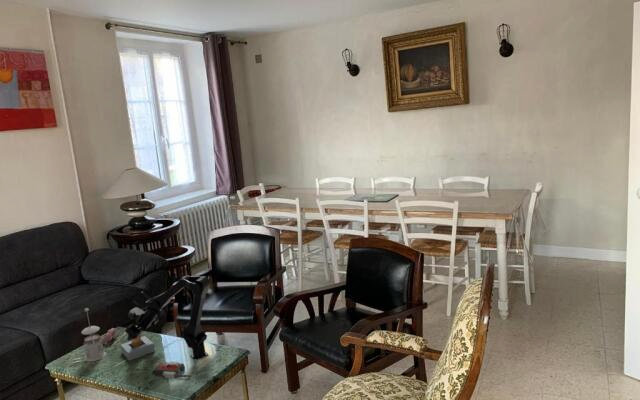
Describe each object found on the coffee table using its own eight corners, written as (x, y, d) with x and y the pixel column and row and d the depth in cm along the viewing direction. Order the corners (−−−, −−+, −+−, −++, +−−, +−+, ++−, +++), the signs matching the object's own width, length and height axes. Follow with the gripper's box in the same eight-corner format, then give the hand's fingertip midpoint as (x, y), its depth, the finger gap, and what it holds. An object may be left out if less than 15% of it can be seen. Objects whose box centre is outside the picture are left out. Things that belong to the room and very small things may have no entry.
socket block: (154, 351, 233) (153, 343, 233) (129, 360, 226) (128, 352, 225) (146, 343, 243) (144, 335, 242) (121, 352, 235) (120, 344, 235)
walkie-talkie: (149, 377, 210) (190, 380, 204) (148, 368, 209) (188, 371, 204) (161, 367, 218) (200, 369, 213) (159, 358, 217) (198, 360, 212)
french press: (84, 363, 227) (74, 314, 223) (85, 353, 238) (75, 306, 233) (106, 357, 231) (97, 309, 227) (106, 347, 242) (97, 301, 237)
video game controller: (107, 347, 246) (111, 335, 245) (99, 344, 245) (103, 332, 244) (115, 338, 255) (119, 327, 254) (107, 335, 255) (111, 324, 254)
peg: (141, 353, 232) (137, 329, 230) (132, 354, 232) (127, 330, 230) (144, 349, 237) (140, 325, 234) (135, 349, 237) (131, 326, 234)
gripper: (149, 296, 237) (134, 316, 243) (125, 311, 220) (109, 333, 225) (165, 311, 236) (150, 331, 242) (142, 328, 219) (126, 349, 224)
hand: (134, 335), depth 233 cm, fingers open, 9 cm apart
